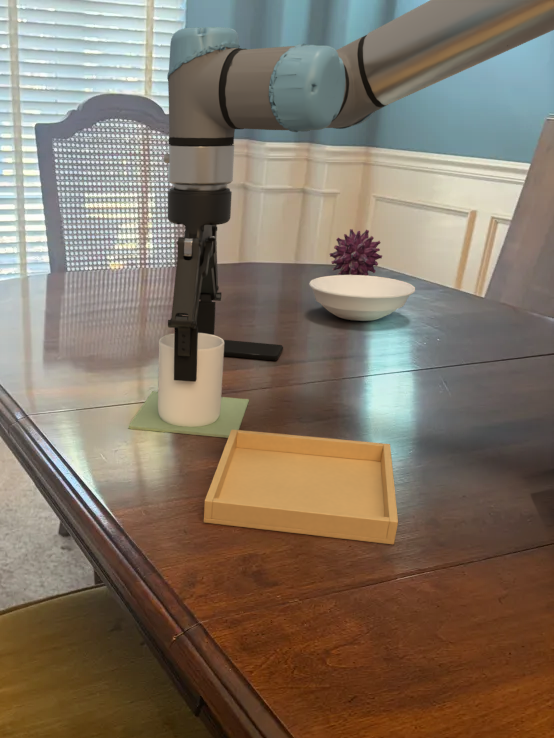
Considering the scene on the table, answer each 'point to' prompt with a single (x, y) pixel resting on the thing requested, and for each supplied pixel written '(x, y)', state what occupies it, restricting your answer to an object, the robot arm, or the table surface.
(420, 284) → the table surface
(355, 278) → the bowl
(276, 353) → the smartphone
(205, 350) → the cup
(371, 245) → the purple spiky ball
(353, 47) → the robot arm
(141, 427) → the mat
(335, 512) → the tray
